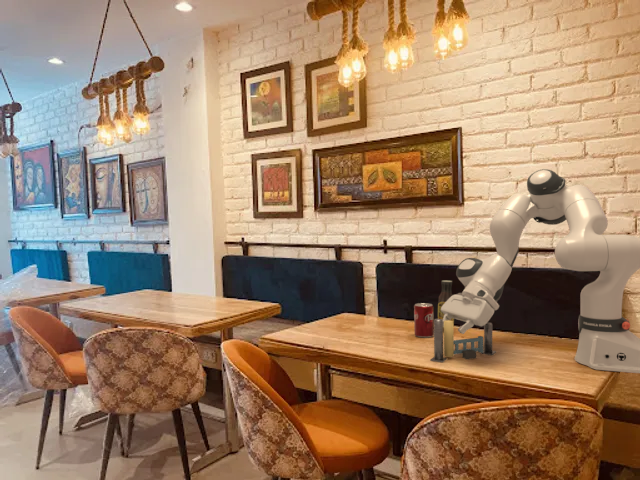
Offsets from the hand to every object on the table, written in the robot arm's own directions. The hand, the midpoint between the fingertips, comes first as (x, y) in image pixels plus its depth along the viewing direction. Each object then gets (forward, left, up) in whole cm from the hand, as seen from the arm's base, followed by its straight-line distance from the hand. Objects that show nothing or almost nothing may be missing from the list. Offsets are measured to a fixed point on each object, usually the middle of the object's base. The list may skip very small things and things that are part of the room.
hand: (451, 329), depth 164 cm
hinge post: (-8, -12, -10) cm, 17 cm away
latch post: (+3, +3, -10) cm, 11 cm away
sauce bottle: (+16, -36, -10) cm, 41 cm away
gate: (-2, -5, -9) cm, 10 cm away
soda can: (+20, -24, -10) cm, 33 cm away
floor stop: (-4, -4, -10) cm, 11 cm away
